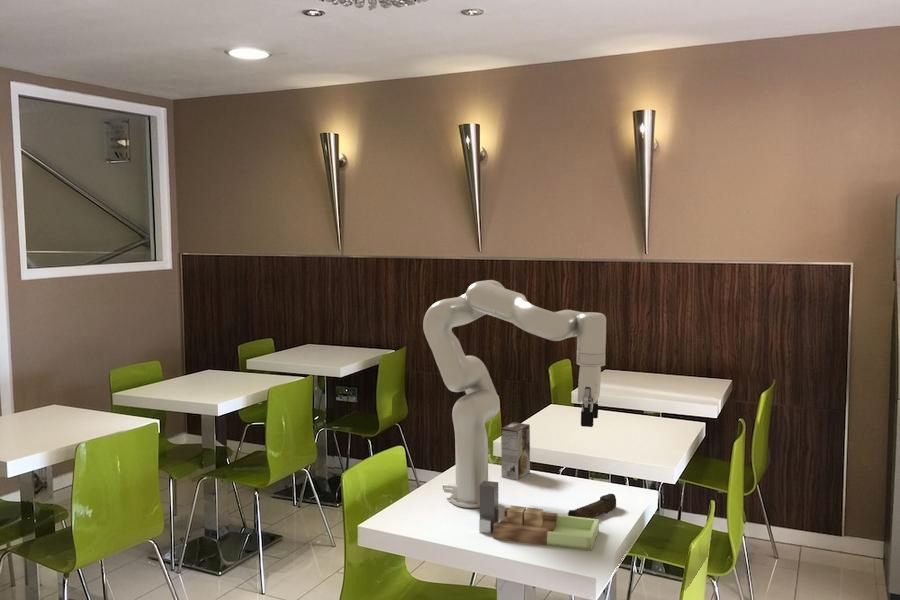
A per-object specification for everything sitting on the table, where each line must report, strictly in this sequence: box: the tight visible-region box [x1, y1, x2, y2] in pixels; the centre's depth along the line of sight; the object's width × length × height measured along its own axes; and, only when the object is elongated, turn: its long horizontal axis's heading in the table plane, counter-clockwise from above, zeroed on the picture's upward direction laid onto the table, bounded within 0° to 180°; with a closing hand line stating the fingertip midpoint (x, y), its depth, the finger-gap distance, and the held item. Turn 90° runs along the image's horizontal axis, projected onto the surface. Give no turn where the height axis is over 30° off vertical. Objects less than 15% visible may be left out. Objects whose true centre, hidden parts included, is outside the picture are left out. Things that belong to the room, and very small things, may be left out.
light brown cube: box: [507, 505, 527, 525], centre depth 201 cm, size 4×4×4 cm
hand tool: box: [567, 493, 617, 519], centre depth 212 cm, size 19×4×5 cm, turn 129°
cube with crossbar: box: [478, 480, 500, 535], centre depth 203 cm, size 4×8×12 cm, turn 161°
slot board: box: [492, 507, 558, 546], centre depth 200 cm, size 14×13×4 cm
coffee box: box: [500, 421, 531, 480], centre depth 248 cm, size 9×6×16 cm
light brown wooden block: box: [524, 506, 544, 527], centre depth 200 cm, size 4×4×4 cm
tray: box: [546, 514, 600, 551], centre depth 196 cm, size 11×13×3 cm
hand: (589, 421), depth 206 cm, fingers open, 9 cm apart
